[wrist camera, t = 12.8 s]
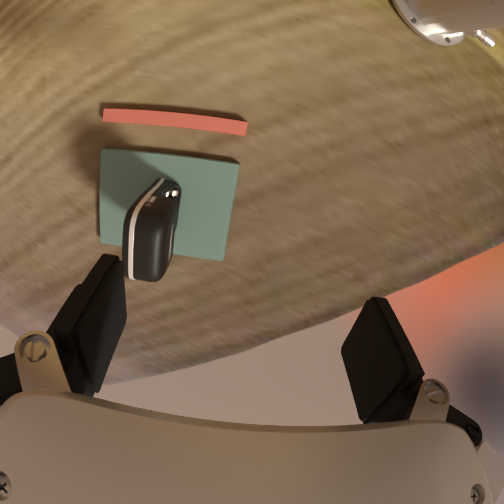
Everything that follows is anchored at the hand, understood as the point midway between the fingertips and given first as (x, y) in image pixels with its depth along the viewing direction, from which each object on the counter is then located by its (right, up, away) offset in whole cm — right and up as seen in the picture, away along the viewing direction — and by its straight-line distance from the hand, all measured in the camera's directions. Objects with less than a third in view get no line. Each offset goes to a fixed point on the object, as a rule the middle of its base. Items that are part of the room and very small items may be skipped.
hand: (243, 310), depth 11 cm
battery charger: (-9, +7, +23) cm, 25 cm away
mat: (-10, +8, +23) cm, 26 cm away
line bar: (-8, +17, +19) cm, 26 cm away
